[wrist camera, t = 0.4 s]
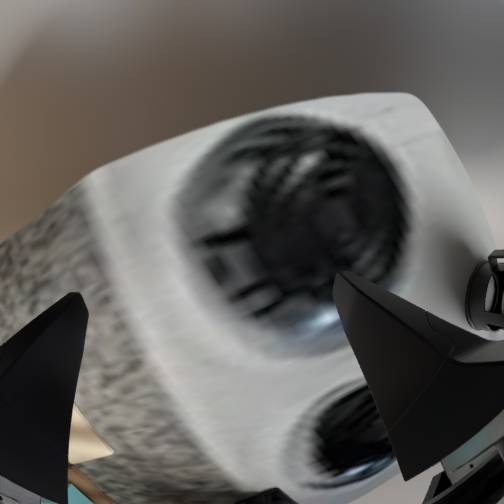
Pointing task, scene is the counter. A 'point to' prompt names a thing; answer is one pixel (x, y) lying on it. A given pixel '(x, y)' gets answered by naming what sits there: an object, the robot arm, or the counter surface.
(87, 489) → the post stand
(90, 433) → the board
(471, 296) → the french press
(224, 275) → the counter surface
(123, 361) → the counter surface
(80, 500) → the teal cube
